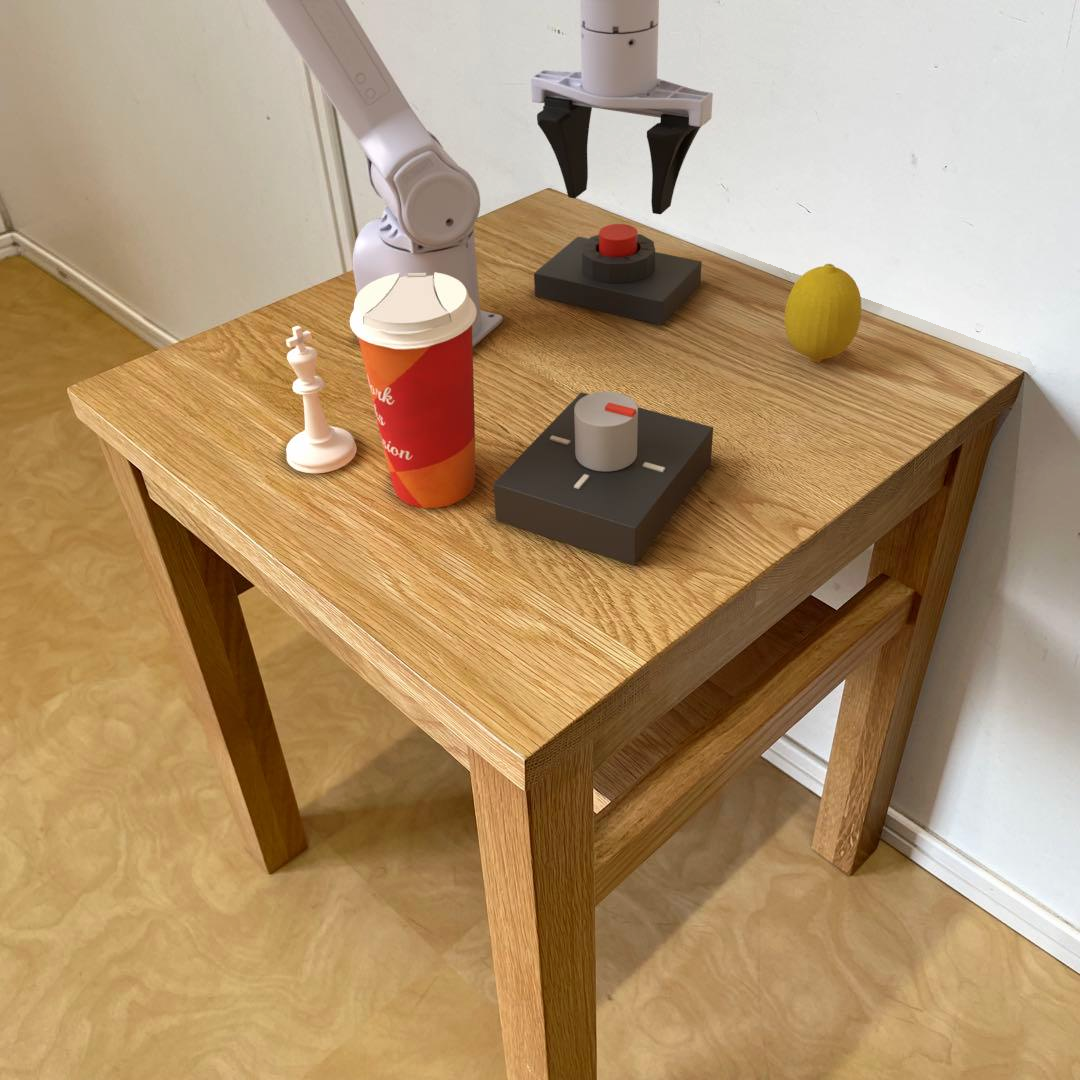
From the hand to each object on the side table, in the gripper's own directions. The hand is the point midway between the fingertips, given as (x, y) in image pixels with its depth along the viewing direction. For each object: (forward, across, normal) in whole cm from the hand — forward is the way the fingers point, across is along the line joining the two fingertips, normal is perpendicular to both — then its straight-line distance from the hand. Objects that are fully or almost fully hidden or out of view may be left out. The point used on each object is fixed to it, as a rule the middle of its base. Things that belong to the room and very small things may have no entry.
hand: (618, 201), depth 90 cm
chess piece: (+8, +8, +31) cm, 33 cm away
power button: (+5, 0, -1) cm, 5 cm away
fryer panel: (+8, -12, +25) cm, 29 cm away
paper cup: (+8, -1, +30) cm, 31 cm away
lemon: (+8, -19, +3) cm, 21 cm away
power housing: (+8, 0, 0) cm, 8 cm away
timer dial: (+5, -12, +25) cm, 29 cm away
